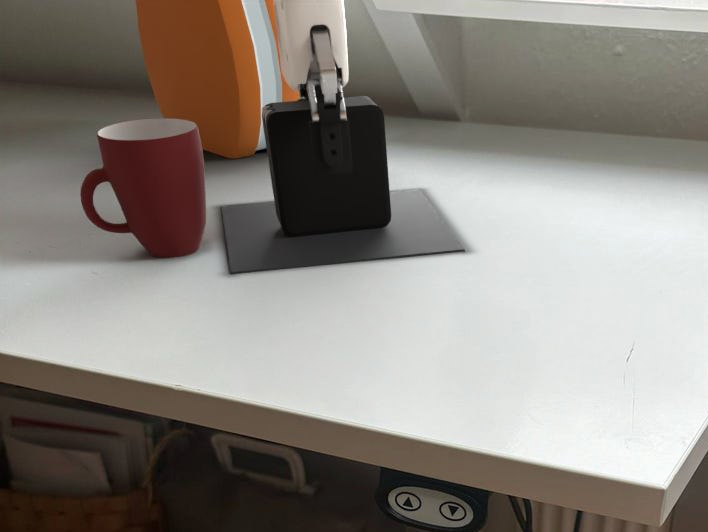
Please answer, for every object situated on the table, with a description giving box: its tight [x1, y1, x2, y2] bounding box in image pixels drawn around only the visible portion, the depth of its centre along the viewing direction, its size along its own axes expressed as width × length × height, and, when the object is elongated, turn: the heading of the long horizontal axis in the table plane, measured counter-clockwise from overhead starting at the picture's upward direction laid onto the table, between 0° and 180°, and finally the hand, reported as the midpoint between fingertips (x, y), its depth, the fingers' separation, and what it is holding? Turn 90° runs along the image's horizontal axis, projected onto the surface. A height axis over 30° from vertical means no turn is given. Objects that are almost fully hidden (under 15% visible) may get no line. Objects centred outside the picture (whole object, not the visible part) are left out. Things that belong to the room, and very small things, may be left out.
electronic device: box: [262, 95, 391, 237], centre depth 84 cm, size 4×10×10 cm, turn 106°
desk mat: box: [220, 188, 466, 275], centre depth 87 cm, size 20×20×1 cm
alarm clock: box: [135, 0, 301, 159], centre depth 109 cm, size 22×10×23 cm, turn 42°
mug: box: [79, 117, 207, 259], centre depth 79 cm, size 11×8×10 cm
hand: (327, 159), depth 83 cm, fingers open, 9 cm apart
